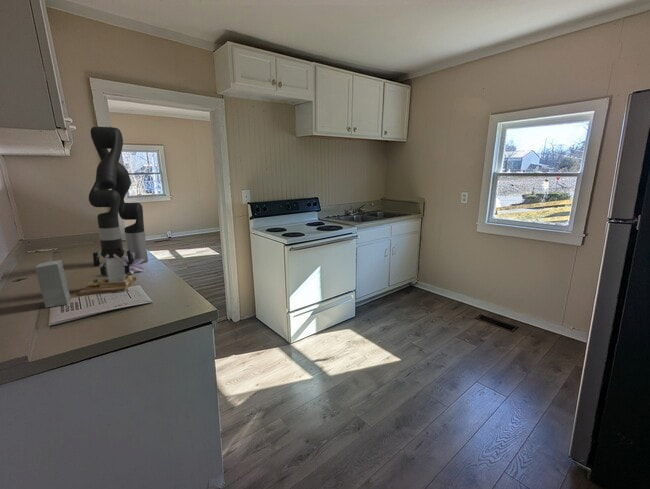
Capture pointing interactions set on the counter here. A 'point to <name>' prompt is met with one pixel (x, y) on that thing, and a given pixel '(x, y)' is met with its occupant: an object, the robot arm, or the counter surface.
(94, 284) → the brass knob disc
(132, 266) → the water lily
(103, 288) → the carrier board
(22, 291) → the counter surface
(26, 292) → the counter surface
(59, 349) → the counter surface
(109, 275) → the skincare box
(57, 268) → the skincare box
